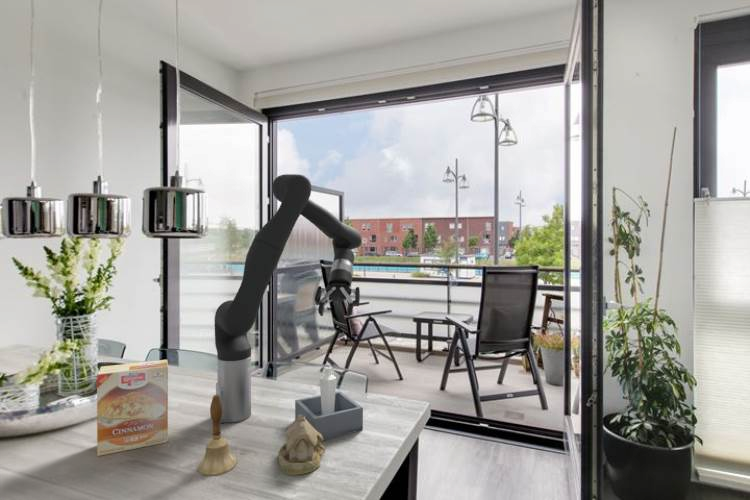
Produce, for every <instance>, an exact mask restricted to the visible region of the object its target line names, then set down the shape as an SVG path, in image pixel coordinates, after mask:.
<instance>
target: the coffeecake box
mask: <svg viewBox="0 0 750 500" xmlns="http://www.w3.org/2000/svg"><path fill="white" fill-rule="evenodd" d="M168 362H169V361H168V359H161V360H152V361H150V360H149V361H142V362H132V363H131V362H130V363H123V364H114V365H103V366H100V368H99V371H97V374H96V425H97V426H96V427H97V428H96V432H97V433H96V437H97V438H96V440H97V441H96V443H97V444H96V451H97V452H96V453H97V457H100V456H104V455H106V456H107V455H109V454H115V453H120V452H125V451H130V450H135V449H139V448H145V447H150V446H155V445H160V444H165V443H168V438H169V437H168V433H169V432H168V431H169V430H168V429H169V425H168V424H169V423H168V422H169V421H168V420H169V416H168V415H169V408H168V407H169V404H168V402H169V386H168V385H169V370H168V369H169V367H168V366H169V364H168Z"/></svg>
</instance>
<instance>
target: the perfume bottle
mask: <svg viewBox="0 0 750 500" xmlns="http://www.w3.org/2000/svg"><path fill="white" fill-rule="evenodd" d="M323 369H324V374H323V375H321V377H320V378H319V392H320V395H321V407H322V415H326V414H330V413H334V404H335V392H337V390H336V389H337V387H336V386H337V377H336V376H335V375H334V374H332V373H333V372H332V369H333V367H332V366H324V368H323Z"/></svg>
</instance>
